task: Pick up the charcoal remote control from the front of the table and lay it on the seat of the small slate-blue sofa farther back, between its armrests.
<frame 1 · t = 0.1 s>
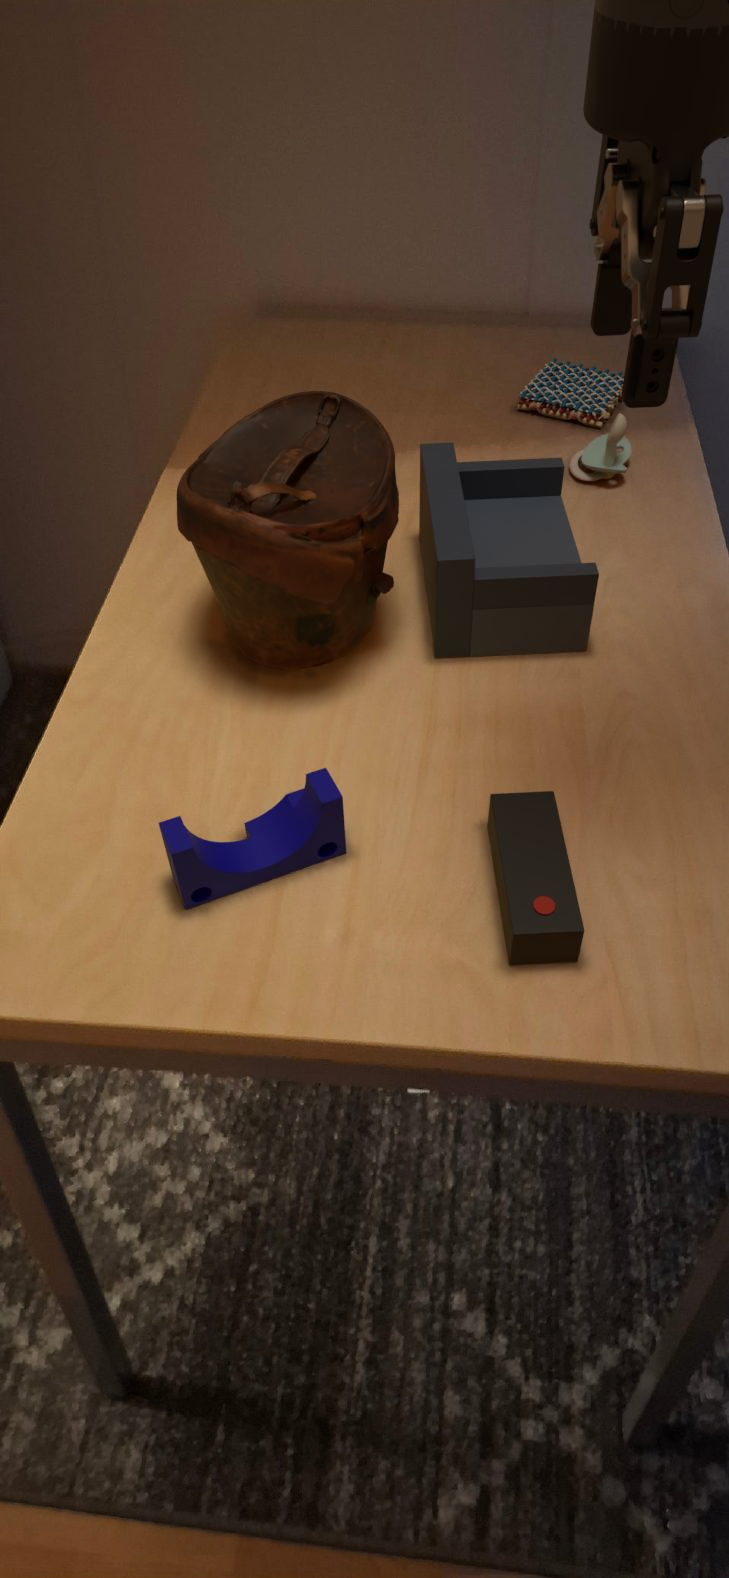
hand: (625, 366, 57), 31 cm above the table, tool pointing down, fingers open, 8 cm apart
pacifier: (597, 471, 109), on the table
case: (300, 629, 92), on the table
remote: (530, 890, 72), on the table
sofa: (497, 591, 95), on the table
woven mat: (572, 402, 119), on the table
blue bracket: (257, 859, 75), on the table
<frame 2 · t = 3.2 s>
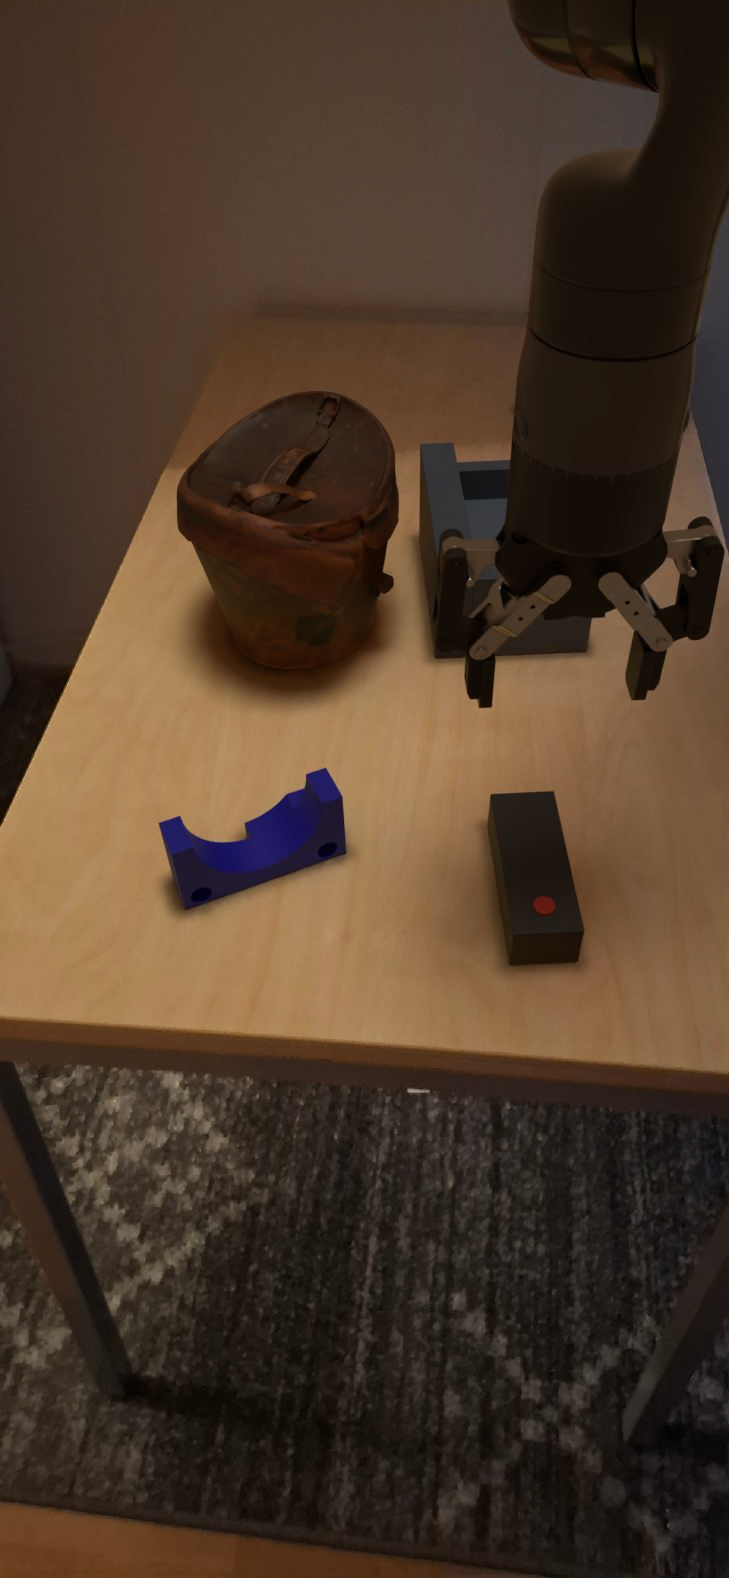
hand: (558, 694, 59), 18 cm above the table, tool pointing down, fingers open, 8 cm apart
nothing on the table moved.
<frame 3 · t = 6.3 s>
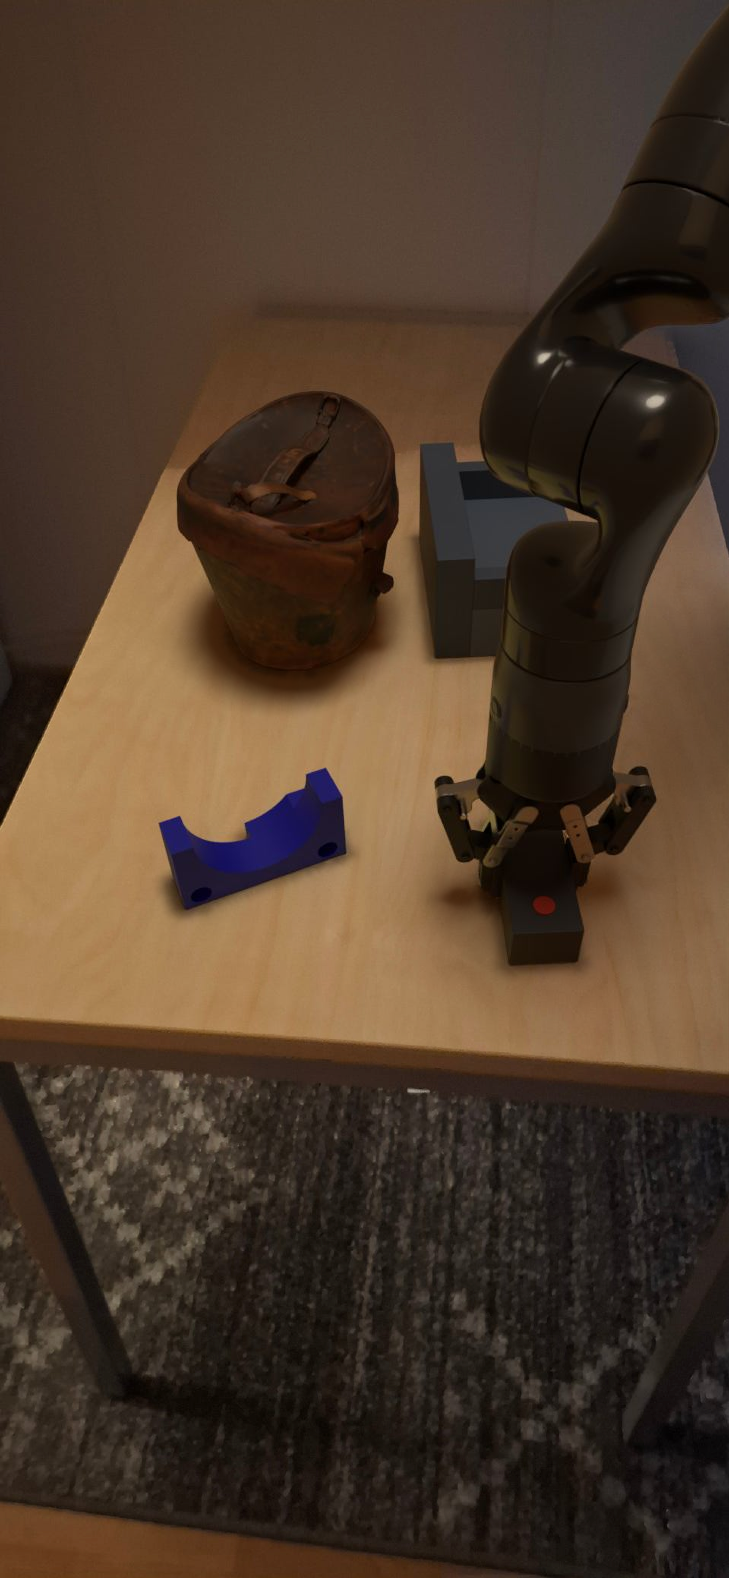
hand: (530, 885, 71), 1 cm above the table, tool pointing down, fingers closed on remote, 4 cm apart
remote: (530, 890, 72), on the table, touching gripper
everything else where it was.
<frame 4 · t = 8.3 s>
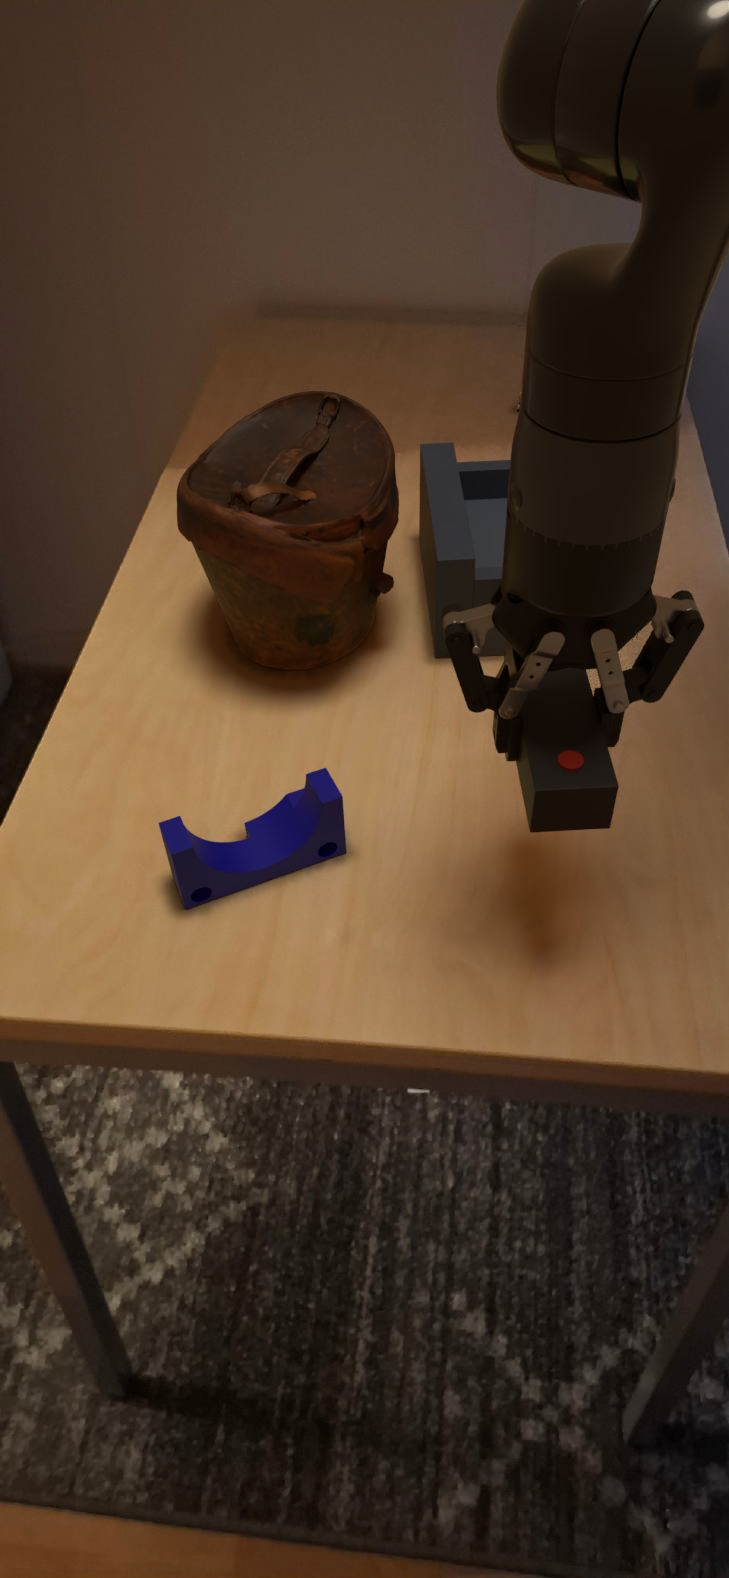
hand: (552, 747, 62), 14 cm above the table, tool pointing down, fingers closed on remote, 4 cm apart
remote: (552, 754, 62), point 13 cm above the table, touching gripper
everything else where it was.
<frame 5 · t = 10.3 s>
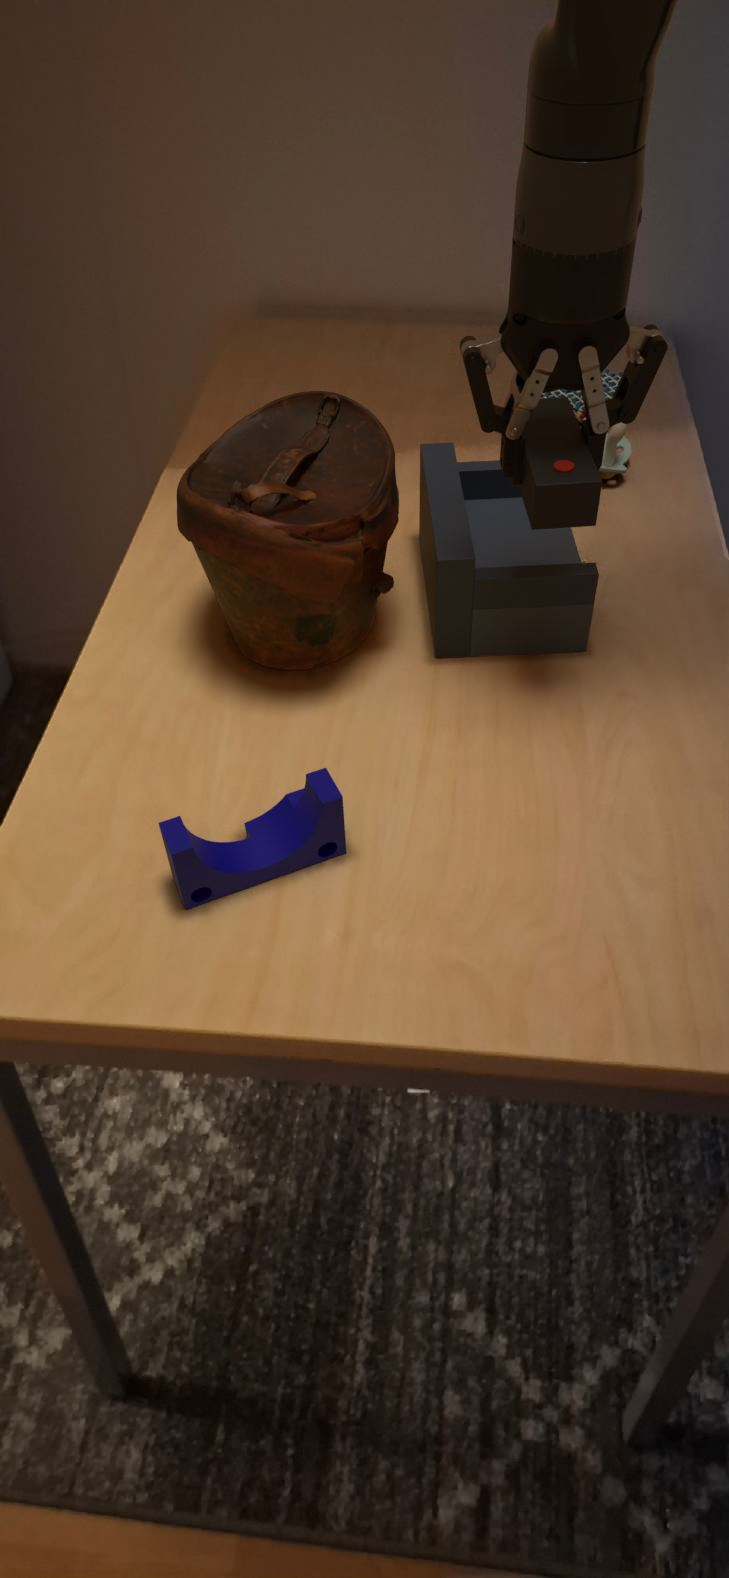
hand: (548, 475, 76), 17 cm above the table, tool pointing down, fingers closed on remote, 4 cm apart
remote: (548, 482, 76), point 17 cm above the table, touching gripper
everything else where it was.
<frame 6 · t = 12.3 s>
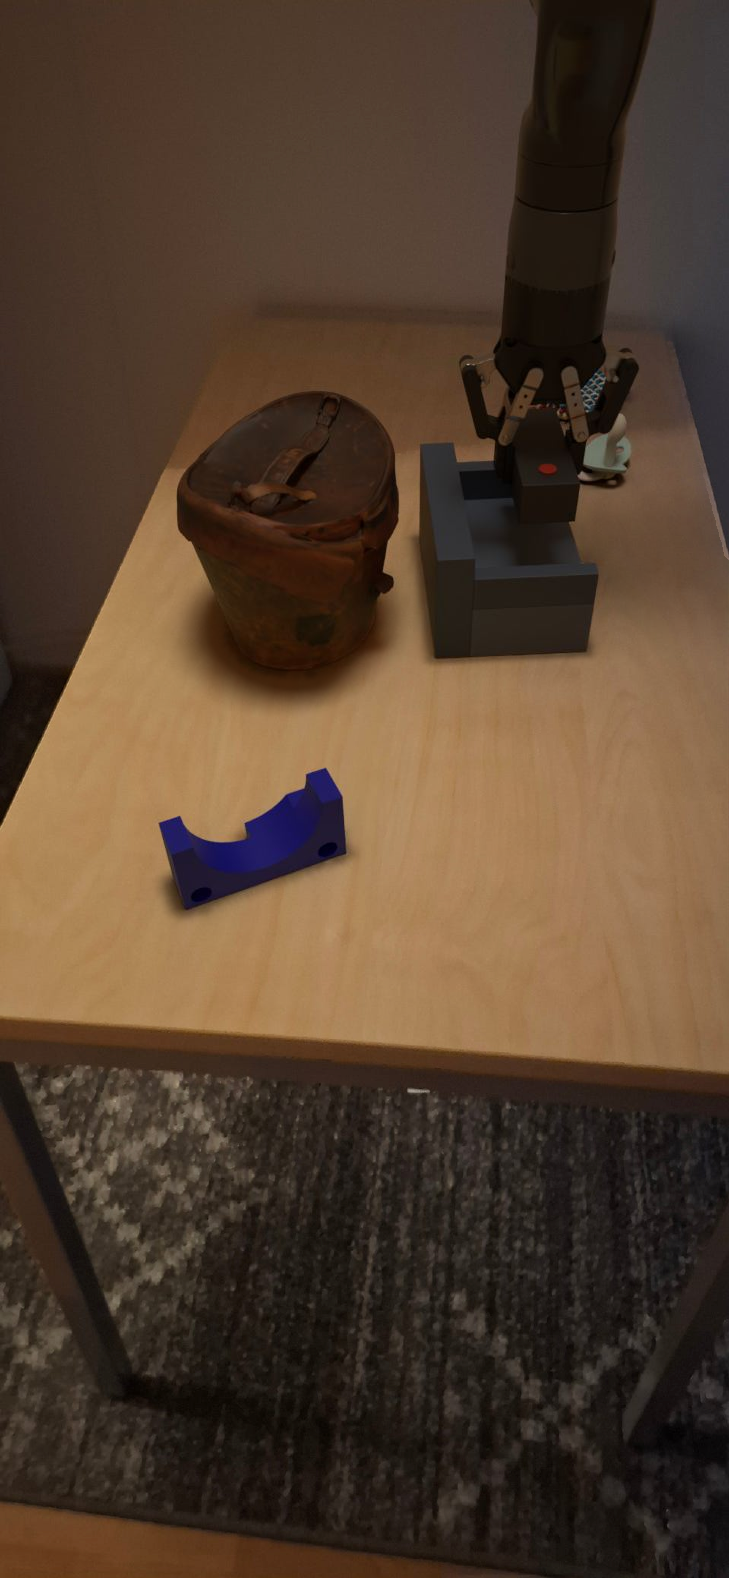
hand: (536, 477, 87), 11 cm above the table, tool pointing down, fingers closed on remote, 4 cm apart
remote: (535, 483, 87), point 11 cm above the table, touching gripper
everything else where it was.
when the fingers open (6 cm above the table, at t = 14.1 s): remote stays where it is, resting on sofa.
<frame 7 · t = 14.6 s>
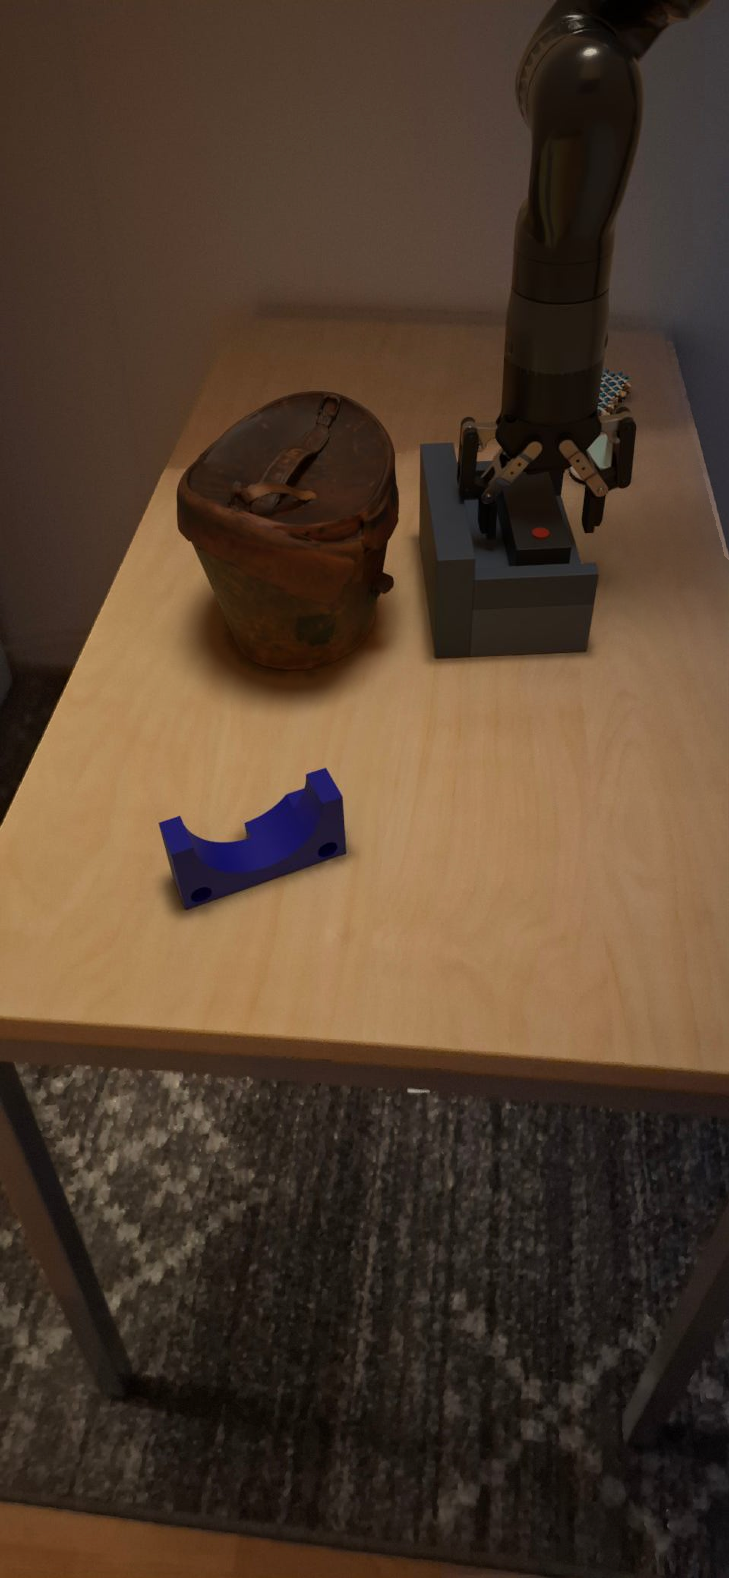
hand: (538, 531, 90), 6 cm above the table, tool pointing down, fingers open, 8 cm apart
remote: (529, 542, 91), point 5 cm above the table, touching sofa
everything else where it was.
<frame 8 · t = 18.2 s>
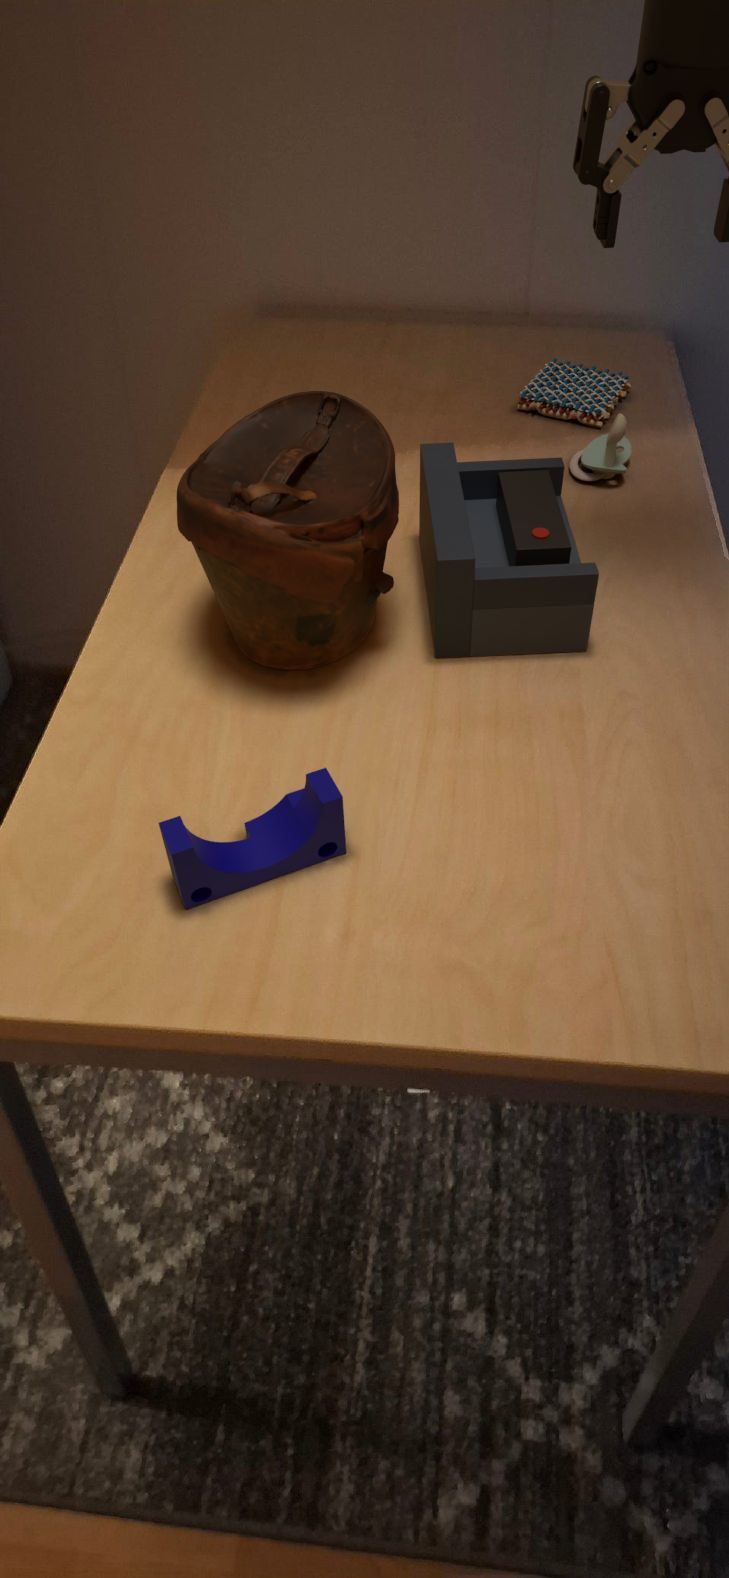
hand: (663, 241, 77), 28 cm above the table, tool pointing down, fingers open, 8 cm apart
nothing on the table moved.
at the end: remote inside the target area on the sofa (0.8 cm from its centre), point 5.0 cm above the sofa's base; remote touching sofa; the gripper is holding nothing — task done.
